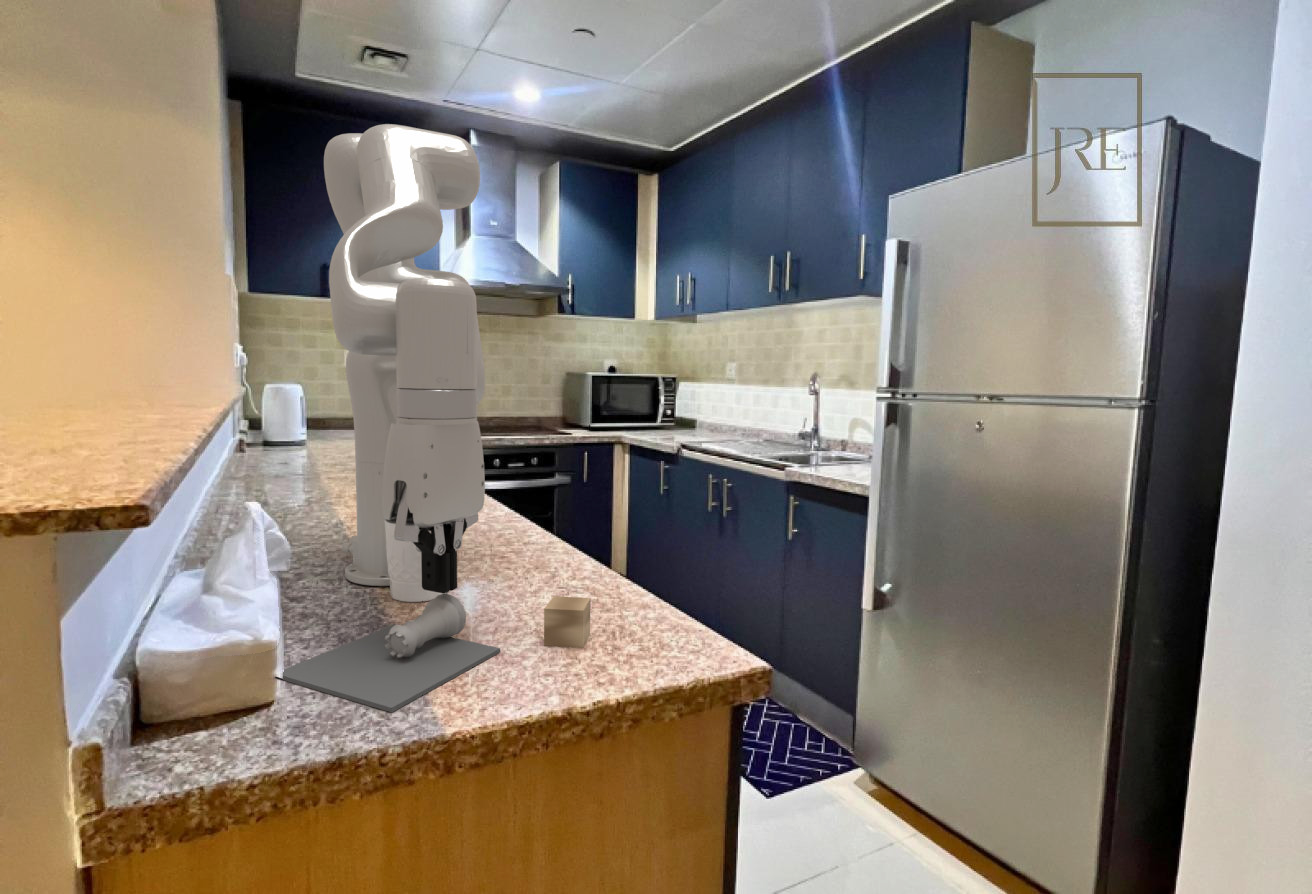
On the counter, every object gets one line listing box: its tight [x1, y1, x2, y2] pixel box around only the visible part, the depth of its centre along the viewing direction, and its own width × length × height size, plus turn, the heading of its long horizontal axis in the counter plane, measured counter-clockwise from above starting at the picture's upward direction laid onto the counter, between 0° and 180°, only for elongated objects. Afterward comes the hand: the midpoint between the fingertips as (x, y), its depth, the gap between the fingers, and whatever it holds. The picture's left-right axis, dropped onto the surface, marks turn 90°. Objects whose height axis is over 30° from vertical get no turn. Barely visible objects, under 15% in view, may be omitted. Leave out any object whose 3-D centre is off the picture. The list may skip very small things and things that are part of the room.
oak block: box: [543, 596, 591, 649], centre depth 72 cm, size 4×4×4 cm
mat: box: [282, 623, 501, 713], centre depth 65 cm, size 14×14×1 cm
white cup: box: [385, 521, 448, 603], centre depth 86 cm, size 8×8×10 cm
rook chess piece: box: [385, 594, 467, 658], centre depth 69 cm, size 4×4×8 cm
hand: (439, 589), depth 70 cm, fingers closed
